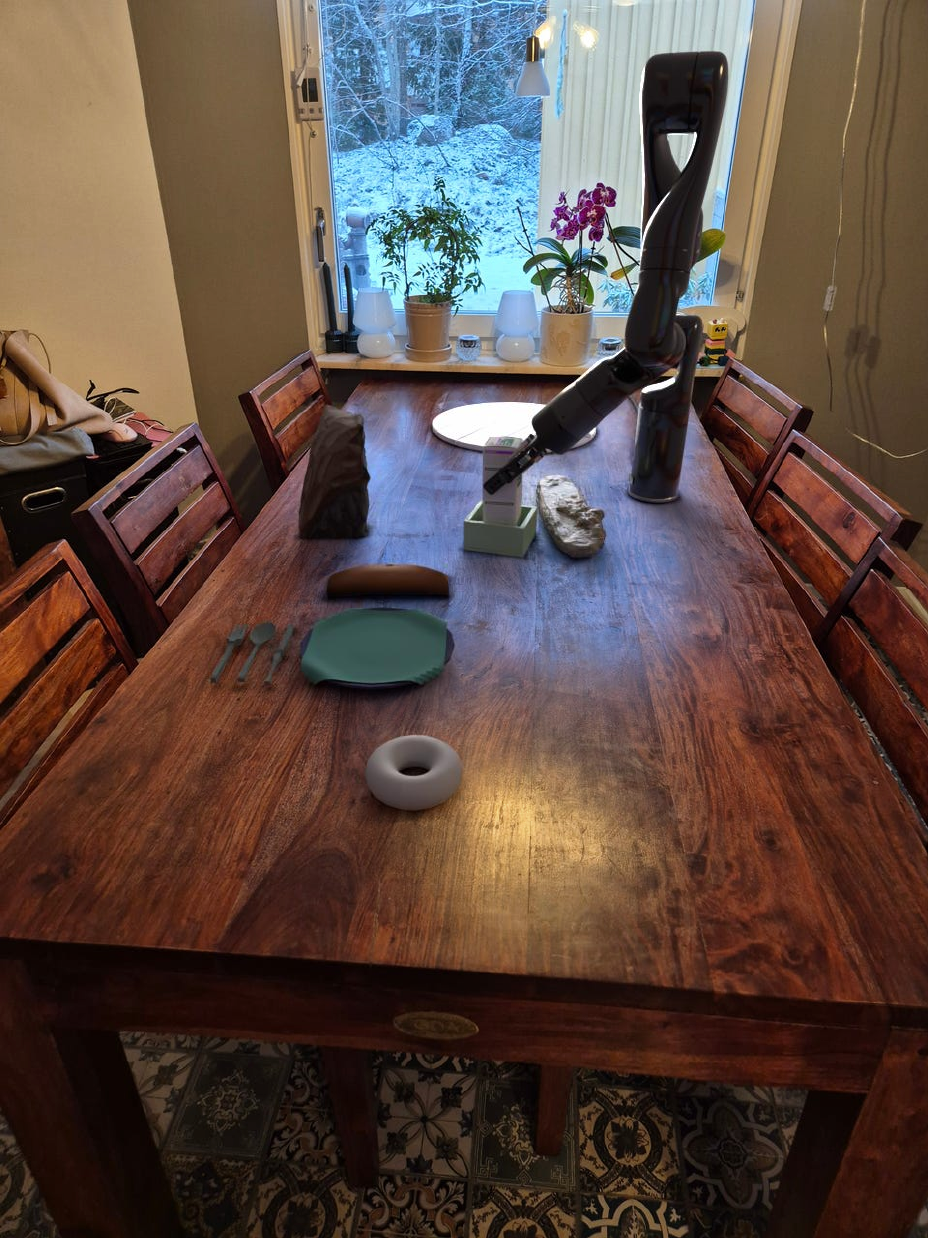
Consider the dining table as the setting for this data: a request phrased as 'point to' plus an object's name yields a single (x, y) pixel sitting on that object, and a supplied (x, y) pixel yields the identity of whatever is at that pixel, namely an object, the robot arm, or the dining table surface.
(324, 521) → the dark brown rock
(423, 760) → the donut
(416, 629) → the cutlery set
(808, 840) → the dining table surface
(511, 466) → the robot arm
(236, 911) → the dining table surface
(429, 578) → the sunglasses case
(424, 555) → the dining table surface
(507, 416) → the lazy susan
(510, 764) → the dining table surface
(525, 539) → the socket
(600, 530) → the elongated rock
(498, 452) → the syrup box
